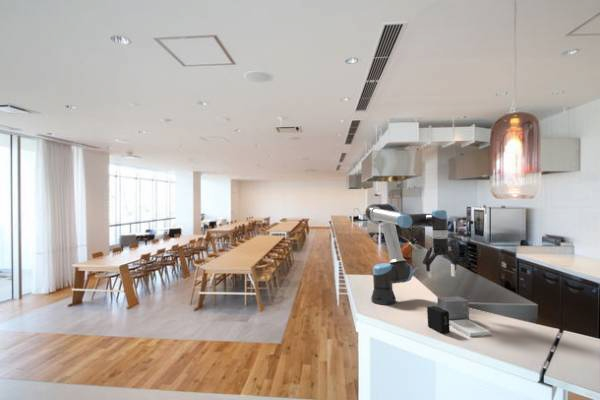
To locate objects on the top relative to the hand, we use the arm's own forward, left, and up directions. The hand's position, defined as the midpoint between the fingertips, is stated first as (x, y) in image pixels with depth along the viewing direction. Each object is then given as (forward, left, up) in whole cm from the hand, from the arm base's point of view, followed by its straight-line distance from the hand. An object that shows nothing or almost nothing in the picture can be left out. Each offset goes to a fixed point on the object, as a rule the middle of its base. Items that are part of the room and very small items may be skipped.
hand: (441, 276), depth 168 cm
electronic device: (+19, -14, -21) cm, 32 cm away
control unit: (+8, +1, -21) cm, 22 cm away
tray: (+21, 0, -21) cm, 30 cm away
